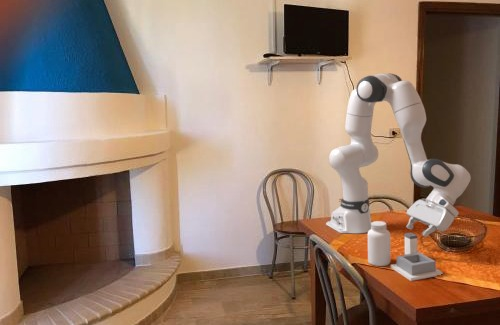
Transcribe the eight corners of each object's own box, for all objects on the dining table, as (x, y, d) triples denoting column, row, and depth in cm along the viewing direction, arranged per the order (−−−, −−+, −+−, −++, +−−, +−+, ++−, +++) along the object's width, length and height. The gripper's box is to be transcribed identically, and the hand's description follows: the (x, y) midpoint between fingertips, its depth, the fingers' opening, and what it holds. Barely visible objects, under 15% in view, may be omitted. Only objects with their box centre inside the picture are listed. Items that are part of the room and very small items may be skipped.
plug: (404, 256, 163) (404, 233, 161) (411, 255, 163) (411, 232, 162) (410, 260, 159) (410, 236, 158) (417, 258, 160) (417, 235, 159)
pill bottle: (387, 268, 154) (386, 227, 151) (365, 264, 158) (363, 225, 156) (393, 260, 160) (392, 221, 158) (371, 257, 165) (370, 218, 162)
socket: (390, 267, 154) (390, 255, 153) (420, 262, 157) (420, 250, 156) (410, 280, 143) (410, 268, 142) (442, 274, 145) (442, 262, 145)
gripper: (416, 192, 173) (394, 219, 172) (451, 204, 153) (427, 234, 152) (426, 202, 174) (405, 229, 174) (462, 214, 155) (438, 245, 154)
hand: (415, 231), depth 163 cm, fingers open, 8 cm apart
